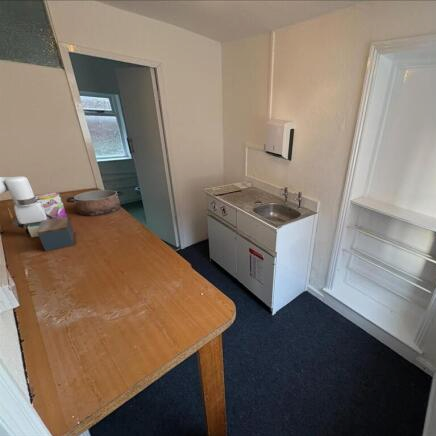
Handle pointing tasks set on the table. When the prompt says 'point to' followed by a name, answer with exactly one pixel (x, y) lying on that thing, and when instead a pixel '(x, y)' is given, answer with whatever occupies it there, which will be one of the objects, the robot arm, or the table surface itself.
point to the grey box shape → (56, 233)
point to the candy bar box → (52, 205)
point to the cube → (34, 229)
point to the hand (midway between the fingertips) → (39, 232)
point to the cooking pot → (97, 202)
